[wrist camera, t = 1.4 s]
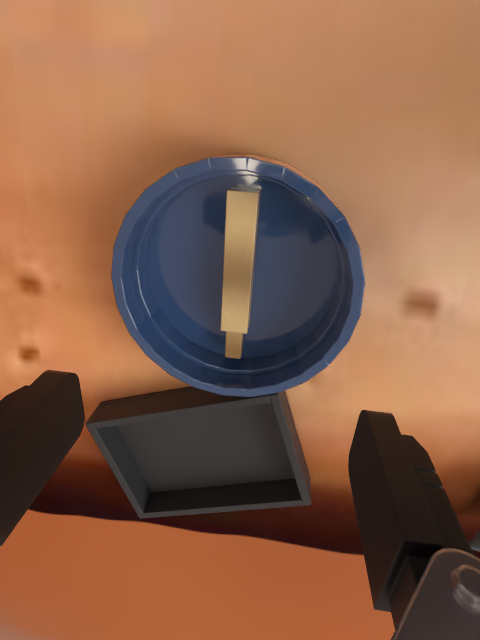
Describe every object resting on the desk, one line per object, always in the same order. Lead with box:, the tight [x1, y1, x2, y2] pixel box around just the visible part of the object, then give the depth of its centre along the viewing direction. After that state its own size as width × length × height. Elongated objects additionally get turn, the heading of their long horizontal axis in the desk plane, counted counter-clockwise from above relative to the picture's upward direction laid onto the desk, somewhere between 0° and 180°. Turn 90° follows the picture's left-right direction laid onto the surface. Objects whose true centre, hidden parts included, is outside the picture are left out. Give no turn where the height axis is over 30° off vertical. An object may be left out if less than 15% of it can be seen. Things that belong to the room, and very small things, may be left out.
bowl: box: [111, 154, 365, 397], centre depth 21 cm, size 13×13×4 cm
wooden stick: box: [221, 187, 261, 359], centre depth 21 cm, size 10×2×2 cm, turn 176°
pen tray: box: [85, 387, 311, 518], centre depth 27 cm, size 14×10×2 cm
